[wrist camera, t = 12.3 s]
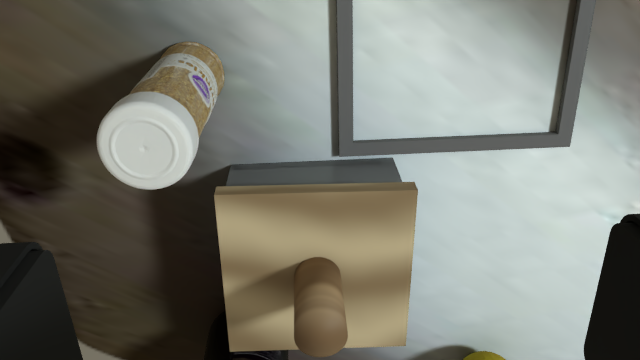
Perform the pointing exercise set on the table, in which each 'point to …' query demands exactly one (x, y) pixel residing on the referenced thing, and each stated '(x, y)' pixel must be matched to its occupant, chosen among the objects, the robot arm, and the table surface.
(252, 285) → the lid
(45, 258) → the robot arm
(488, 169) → the table surface
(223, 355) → the supplement bottle
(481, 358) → the lemon
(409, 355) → the table surface
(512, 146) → the picture frame
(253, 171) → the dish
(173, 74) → the sprinkles bottle
